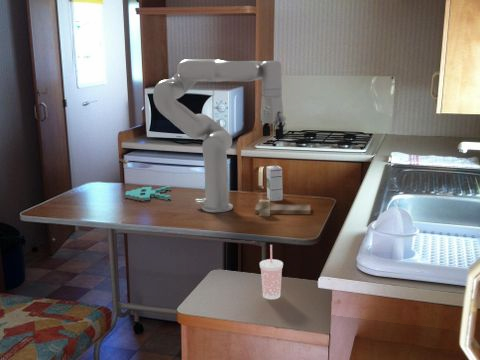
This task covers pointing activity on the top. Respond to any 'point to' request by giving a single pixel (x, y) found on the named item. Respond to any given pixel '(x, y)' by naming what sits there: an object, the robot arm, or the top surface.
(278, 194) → the syrup box
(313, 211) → the top surface
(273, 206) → the board
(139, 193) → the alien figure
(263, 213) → the wooden mallet
